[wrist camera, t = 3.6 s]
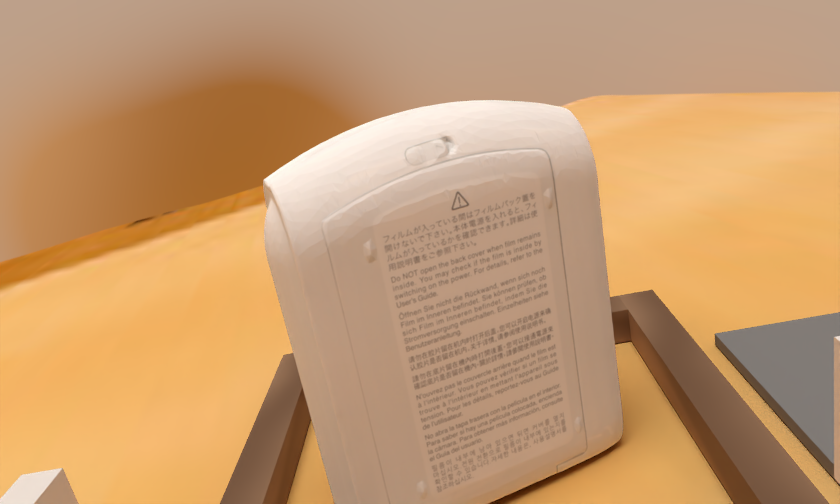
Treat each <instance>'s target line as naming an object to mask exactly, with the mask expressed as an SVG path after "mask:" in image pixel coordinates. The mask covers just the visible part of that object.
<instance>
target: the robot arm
mask: <svg viewBox="0 0 840 504" xmlns="http://www.w3.org/2000/svg"><path fill="white" fill-rule="evenodd" d="M834 478H835V479H836V481H837V482H838V483H839V484H840V336H837V337H834ZM0 504H78V502H77V499H76V497H75V495H74V493H73V490H72V488H71V486H70V484H69V481H68V479H67V477H66V475H65V472H64V470H63V468H60V469H54V470H48V471H43V472H37V473H31V474H25V475H21V476H20V477H19V478H18V479H17V481H16V482H15V483H14V484H13V485H12V486H11V487H10V489H9V490H8V491H7V492H6V493H5V494H4V495H3V496H2V498H1V499H0Z"/></svg>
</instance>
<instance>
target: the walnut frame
mask: <svg viewBox="0 0 840 504" xmlns="http://www.w3.org/2000/svg"><path fill="white" fill-rule="evenodd" d="M610 304H611V314H612V323H613V332H614V340H615V343H621V342H626V341H632V343H633V344H634V346H635V347H636V349H637V351H638V352H639V354H640V355H641V357H642V358H643V360H644V362H645V363H646V365H647V366H648V368H649V370H650V371H651V373H652V374H653V376H654V377H655V379H656V381H657V382H658V384H659V385H660V387H661V389H662V390H663V392H664V393H665V395H666V396H667V398H668V400H669V401H670V403H671V404H672V406H673V407H674V409H675V411H676V412H677V414H678V415H679V417H680V419H681V420H682V422H683V423H684V425H685V426H686V428H687V430H688V431H689V433H690V434H691V436H692V438H693V439H694V441H695V442H696V444H697V445H698V447H699V449H700V450H701V452H702V453H703V455H704V456H705V458H706V460H707V461H708V463H709V464H710V466H711V468H712V469H713V471H714V472H715V474H716V475H717V477H718V479H719V480H720V482H721V483H722V485H723V487H724V488H725V490H726V491H727V493H728V494H729V496H730V498H731V499H732V501H733V502H734V504H829V503H828V502H827V500H826V499H825V498H824V497H823V495H822V494H821V493H820V492H819V491H818V489H817V488H816V487H815V486H814V485H813V483H812V482H811V481H810V480H809V479H808V477H807V476H806V475H805V474H804V473H803V471H802V470H801V469H800V468H799V466H798V465H797V464H796V463H795V462H794V460H793V459H792V458H791V457H790V456H789V454H788V453H787V452H786V451H785V450H784V448H783V447H782V446H781V445H780V444H779V442H778V441H777V440H776V439H775V438H774V436H773V435H772V434H771V433H770V431H769V430H768V429H767V428H766V427H765V425H764V424H763V423H762V422H761V421H760V419H759V418H758V417H757V416H756V415H755V413H754V412H753V411H752V410H751V409H750V407H749V406H748V405H747V404H746V403H745V401H744V400H743V399H742V398H741V396H740V395H739V394H738V393H737V392H736V390H735V389H734V388H733V387H732V386H731V384H730V383H729V382H728V381H727V380H726V378H725V377H724V376H723V375H722V374H721V372H720V371H719V370H718V369H717V367H716V366H715V365H714V364H713V363H712V361H711V360H710V359H709V358H708V357H707V355H706V354H705V353H704V352H703V351H702V349H701V348H700V347H699V346H698V345H697V343H696V342H695V341H694V340H693V339H692V337H691V336H690V335H689V334H688V332H687V331H686V330H685V329H684V328H683V326H682V325H681V324H680V323H679V322H678V320H677V319H676V318H675V317H674V316H673V314H672V313H671V312H670V311H669V310H668V308H667V307H666V306H665V305H664V303H663V302H662V301H661V300H660V299H659V297H658V296H657V295H656V294H655V293H654V291H653V290H649V291H643V292H637V293H632V294H626V295H620V296H615V297H610ZM310 420H311V416H310V412H309V409H308V405H307V402H306V398H305V394H304V391H303V387H302V383H301V380H300V376H299V372H298V369H297V365H296V361H295V357H294V354H293V353H292V354H286V355H283V358H282V360H281V362H280V365H279V367H278V369H277V372H276V374H275V376H274V379H273V381H272V383H271V386H270V388H269V390H268V393H267V395H266V397H265V400H264V402H263V404H262V407H261V409H260V411H259V414H258V416H257V418H256V421H255V423H254V425H253V428H252V430H251V432H250V435H249V437H248V439H247V442H246V444H245V446H244V449H243V451H242V453H241V456H240V458H239V460H238V463H237V465H236V467H235V470H234V472H233V474H232V477H231V479H230V481H229V484H228V486H227V488H226V491H225V493H224V495H223V498H222V500H221V502H220V504H286V502H287V499H288V495H289V492H290V488H291V485H292V481H293V478H294V475H295V471H296V468H297V464H298V461H299V457H300V454H301V451H302V447H303V444H304V440H305V437H306V433H307V430H308V427H309V423H310Z"/></svg>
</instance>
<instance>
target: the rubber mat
mask: <svg viewBox="0 0 840 504" xmlns="http://www.w3.org/2000/svg"><path fill="white" fill-rule="evenodd" d="M837 336H840V312H839V313H833V314H827V315H822V316H816V317H810V318H804V319H798V320H792V321H786V322H781V323H775V324H769V325H763V326H757V327H751V328H745V329H740V330H734V331H728V332H722V333H716V334H715V345H716V346H717V347H718V348H719V349H720V350H721V352H722V353H723V354H724V355H725V356H726V357H727V358H728V359H729V361H730V362H731V363H732V364H733V365H734V366H735V367H736V368H737V370H738V371H739V372H740V373H741V374H742V375H743V376H744V378H745V379H746V380H747V381H748V382H749V383H750V384H751V385H752V387H753V388H754V389H755V390H756V391H757V392H758V393H759V395H760V396H761V397H762V398H763V399H764V400H765V401H766V402H767V404H768V405H769V406H770V407H771V408H772V409H773V410H774V412H775V413H776V414H777V415H778V416H779V417H780V418H781V419H782V421H783V422H784V423H785V424H786V425H787V426H788V427H789V429H790V430H791V431H792V432H793V433H794V434H795V435H796V436H797V438H798V439H799V440H800V441H801V442H802V443H803V444H804V446H805V447H806V448H807V449H808V450H809V451H810V452H811V453H812V455H813V456H814V457H815V458H816V459H817V460H818V461H819V462H820V464H821V465H822V466H823V467H824V468H825V469H826V470H827V472H828V473H829V474H830V475H831V476H832V477H833V478H834V337H837ZM834 479H835V478H834ZM835 481H836V479H835ZM836 482H837V481H836ZM837 483H838V482H837ZM838 484H839V483H838ZM839 485H840V484H839Z"/></svg>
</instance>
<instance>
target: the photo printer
mask: <svg viewBox="0 0 840 504" xmlns="http://www.w3.org/2000/svg"><path fill="white" fill-rule="evenodd" d="M263 186H264V195H265V201H266V207H267V213H266V219H265V228H264V241H265V250H266V254H267V259H268V263H269V267H270V270H271V274H272V277H273V281H274V285H275V288H276V292H277V295H278V299H279V303H280V306H281V310H282V314H283V317H284V321H285V324H286V328H287V332H288V335H289V339H290V343H291V346H292V350H293V354H294V357H295V361H296V365H297V369H298V372H299V376H300V380H301V383H302V387H303V391H304V394H305V398H306V402H307V405H308V409H309V412H310V416H311V420H312V423H313V427H314V431H315V434H316V438H317V442H318V445H319V449H320V453H321V456H322V460H323V464H324V467H325V471H326V475H327V478H328V482H329V485H330V489H331V492H332V496H333V500H334V503H335V504H488V503H491V502H493V501H495V500H497V499H500V498H502V497H504V496H506V495H509V494H511V493H513V492H516V491H518V490H520V489H522V488H525V487H527V486H529V485H531V484H533V483H536V482H538V481H540V480H543V479H545V478H547V477H549V476H551V475H554V474H556V473H559V472H562V471H564V470H566V469H568V468H570V467H572V466H574V465H576V464H579V463H581V462H583V461H585V460H587V459H589V458H591V457H593V456H595V455H597V454H599V453H601V452H603V451H604V450H606V449H608V448H609V447H611V446H613V445H614V444H615V443H617V442H618V441H619V440H620V438H621V437H622V434H623V413H622V404H621V396H620V386H619V378H618V369H617V360H616V351H615V340H614V332H613V323H612V314H611V304H610V294H609V285H608V276H607V266H606V257H605V246H604V237H603V228H602V217H601V209H600V198H599V190H598V178H597V171H596V164H595V160H594V156H593V153H592V150H591V147H590V144H589V141H588V139H587V136H586V134H585V132H584V130H583V128H582V127H581V125H580V123H579V121H578V120H577V119H576V117H575V116H574V115H573V114H572V112H571V111H569V110H568V109H566V108H563V107H558V106H553V105H547V104H542V103H533V102H521V101H502V100H476V101H462V102H452V103H444V104H437V105H431V106H426V107H420V108H416V109H412V110H408V111H404V112H400V113H396V114H392V115H389V116H386V117H383V118H380V119H376V120H373V121H371V122H368V123H366V124H363V125H360V126H358V127H356V128H353V129H351V130H348V131H346V132H344V133H341V134H339V135H337V136H335V137H333V138H331V139H329V140H327V141H325V142H323V143H321V144H319V145H317V146H315V147H314V148H312V149H310V150H309V151H307V152H305V153H303V154H301V155H300V156H298V157H297V158H295V159H294V160H292V161H291V162H289V163H287V164H286V165H284V166H283V167H281V168H280V169H278V170H277V171H275V172H274V173H273V174H271V175H270V176H268V177H267V178H266V179H264V184H263Z"/></svg>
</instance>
